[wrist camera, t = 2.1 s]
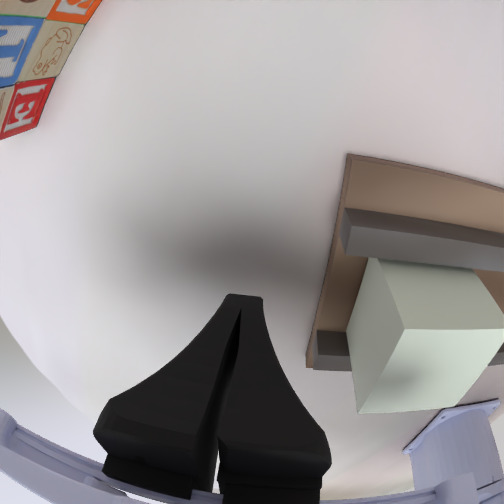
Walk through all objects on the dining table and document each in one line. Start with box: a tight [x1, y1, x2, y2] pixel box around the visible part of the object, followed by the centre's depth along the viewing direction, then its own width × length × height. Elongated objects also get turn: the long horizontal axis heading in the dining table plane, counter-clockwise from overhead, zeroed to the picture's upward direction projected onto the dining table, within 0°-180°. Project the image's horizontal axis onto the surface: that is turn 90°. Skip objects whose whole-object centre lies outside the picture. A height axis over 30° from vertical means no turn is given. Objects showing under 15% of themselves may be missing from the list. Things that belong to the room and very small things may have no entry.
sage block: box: [346, 257, 504, 414], centre depth 12 cm, size 5×5×5 cm
